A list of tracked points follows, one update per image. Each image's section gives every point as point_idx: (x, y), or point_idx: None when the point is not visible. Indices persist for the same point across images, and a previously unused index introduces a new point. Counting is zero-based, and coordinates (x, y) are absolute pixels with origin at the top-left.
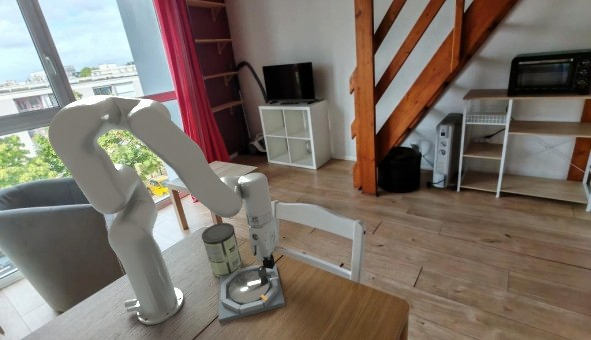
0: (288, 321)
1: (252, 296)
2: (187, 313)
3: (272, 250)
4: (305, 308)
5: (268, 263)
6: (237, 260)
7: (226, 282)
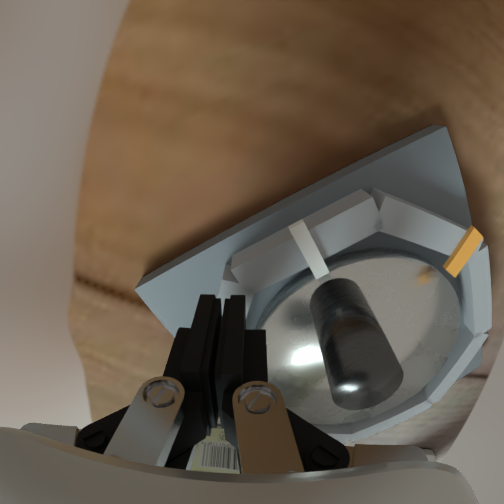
0: (496, 98)
1: (437, 314)
2: (419, 433)
3: (281, 491)
4: (426, 18)
5: (266, 360)
6: (213, 455)
7: (343, 436)
